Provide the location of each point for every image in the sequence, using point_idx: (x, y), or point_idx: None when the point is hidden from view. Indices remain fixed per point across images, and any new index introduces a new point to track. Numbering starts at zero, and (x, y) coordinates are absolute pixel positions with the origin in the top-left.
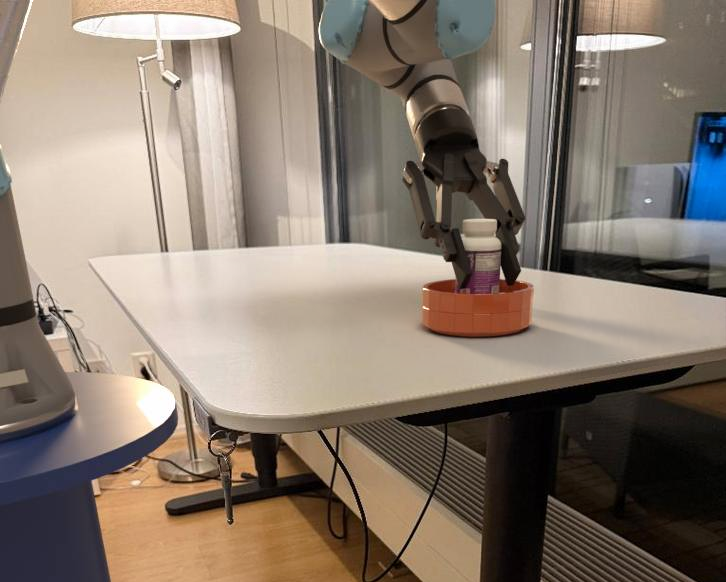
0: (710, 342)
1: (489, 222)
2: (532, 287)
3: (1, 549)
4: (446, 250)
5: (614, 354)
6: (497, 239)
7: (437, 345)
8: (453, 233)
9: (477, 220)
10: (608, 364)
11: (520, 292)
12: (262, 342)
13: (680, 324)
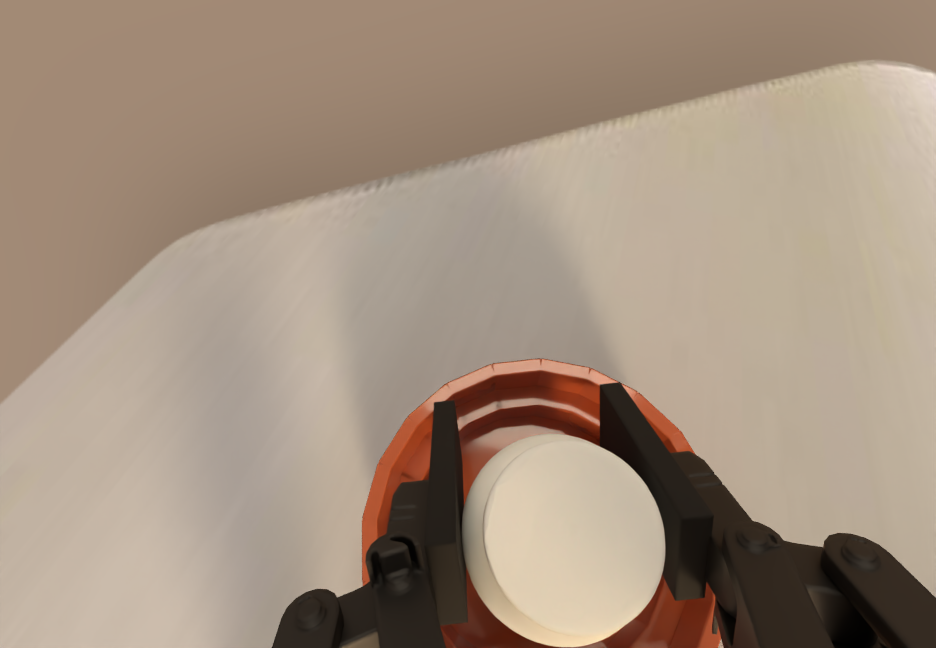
0: (161, 261)
1: (542, 444)
2: (392, 440)
3: None
4: (706, 465)
5: (364, 224)
6: (490, 479)
7: (657, 358)
8: (700, 496)
9: (595, 489)
10: (407, 176)
11: (453, 381)
12: None
13: (70, 420)
